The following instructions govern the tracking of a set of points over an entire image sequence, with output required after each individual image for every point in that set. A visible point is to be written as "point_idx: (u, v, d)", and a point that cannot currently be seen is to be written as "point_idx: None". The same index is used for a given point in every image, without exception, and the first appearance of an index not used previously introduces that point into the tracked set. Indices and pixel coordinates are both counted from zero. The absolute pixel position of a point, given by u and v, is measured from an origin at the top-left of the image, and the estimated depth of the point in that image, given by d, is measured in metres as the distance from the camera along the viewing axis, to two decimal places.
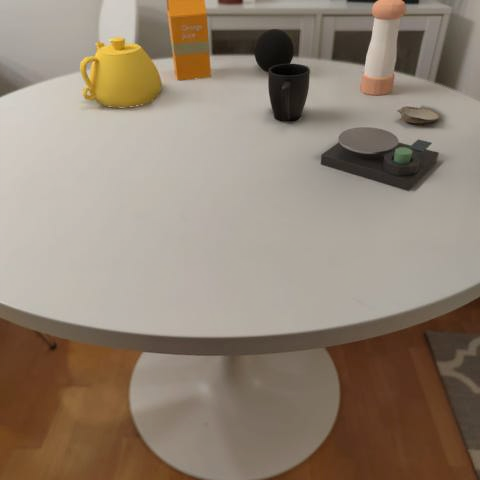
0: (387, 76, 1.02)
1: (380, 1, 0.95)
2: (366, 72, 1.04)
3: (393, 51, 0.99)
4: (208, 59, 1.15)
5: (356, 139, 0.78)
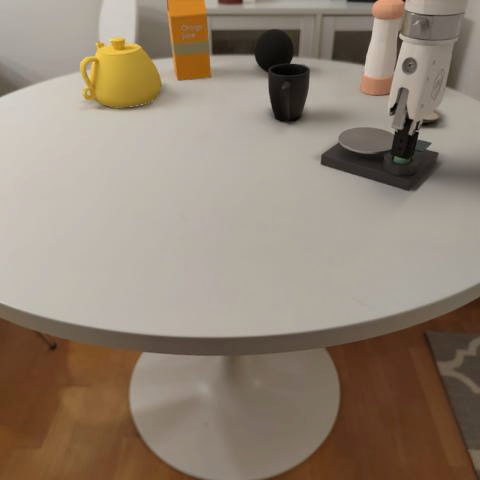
0: (387, 76, 1.02)
1: (380, 1, 0.95)
2: (366, 72, 1.04)
3: (393, 51, 0.99)
4: (208, 59, 1.15)
5: (356, 139, 0.78)
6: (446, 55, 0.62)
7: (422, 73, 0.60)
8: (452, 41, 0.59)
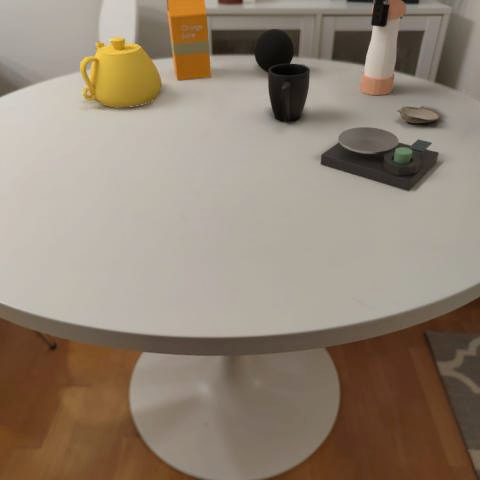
0: (387, 76, 1.02)
1: None
2: (366, 72, 1.04)
3: (393, 51, 0.99)
4: (208, 59, 1.15)
5: (356, 139, 0.78)
6: None
7: None
8: None
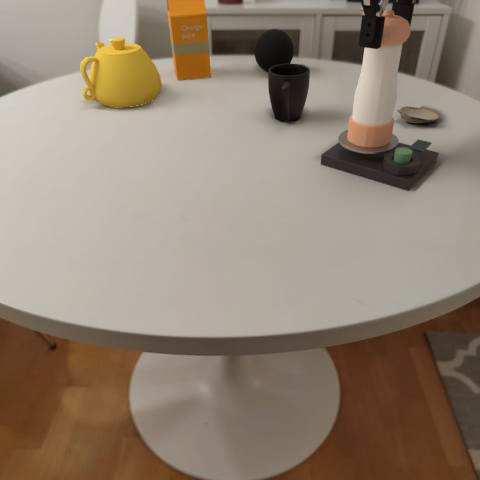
0: (384, 122, 0.73)
1: None
2: (355, 116, 0.75)
3: (392, 89, 0.70)
4: (208, 59, 1.15)
5: None
6: None
7: None
8: None
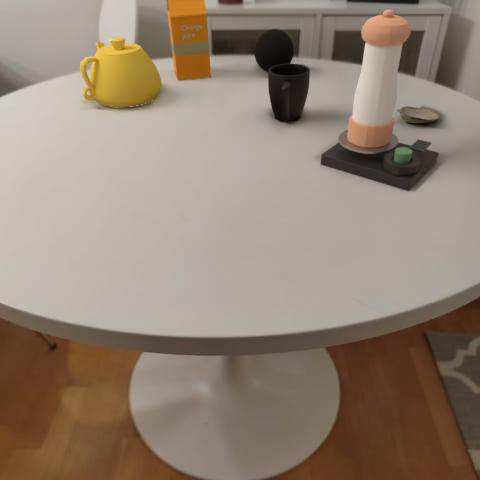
0: (384, 122, 0.73)
1: (373, 20, 0.66)
2: (355, 116, 0.75)
3: (392, 89, 0.70)
4: (208, 59, 1.15)
5: None
6: None
7: None
8: None
